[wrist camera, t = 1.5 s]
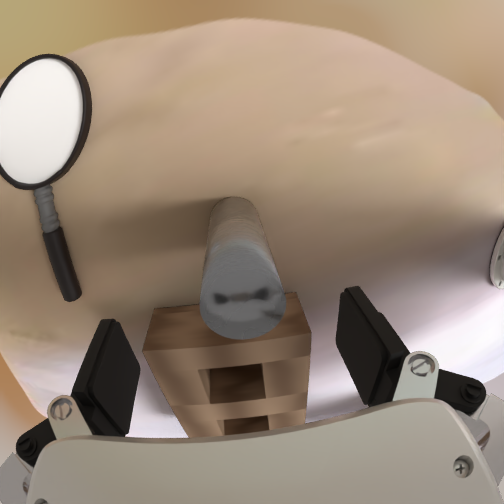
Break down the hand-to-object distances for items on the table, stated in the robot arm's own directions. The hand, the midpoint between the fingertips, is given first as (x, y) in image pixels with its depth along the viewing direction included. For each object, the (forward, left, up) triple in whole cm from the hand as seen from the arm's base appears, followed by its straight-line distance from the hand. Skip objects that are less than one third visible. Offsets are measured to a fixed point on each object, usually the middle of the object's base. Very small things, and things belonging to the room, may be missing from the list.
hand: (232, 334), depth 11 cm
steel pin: (-1, 0, -14) cm, 14 cm away
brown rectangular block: (+1, +18, -14) cm, 23 cm away
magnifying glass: (+16, -6, -15) cm, 23 cm away
